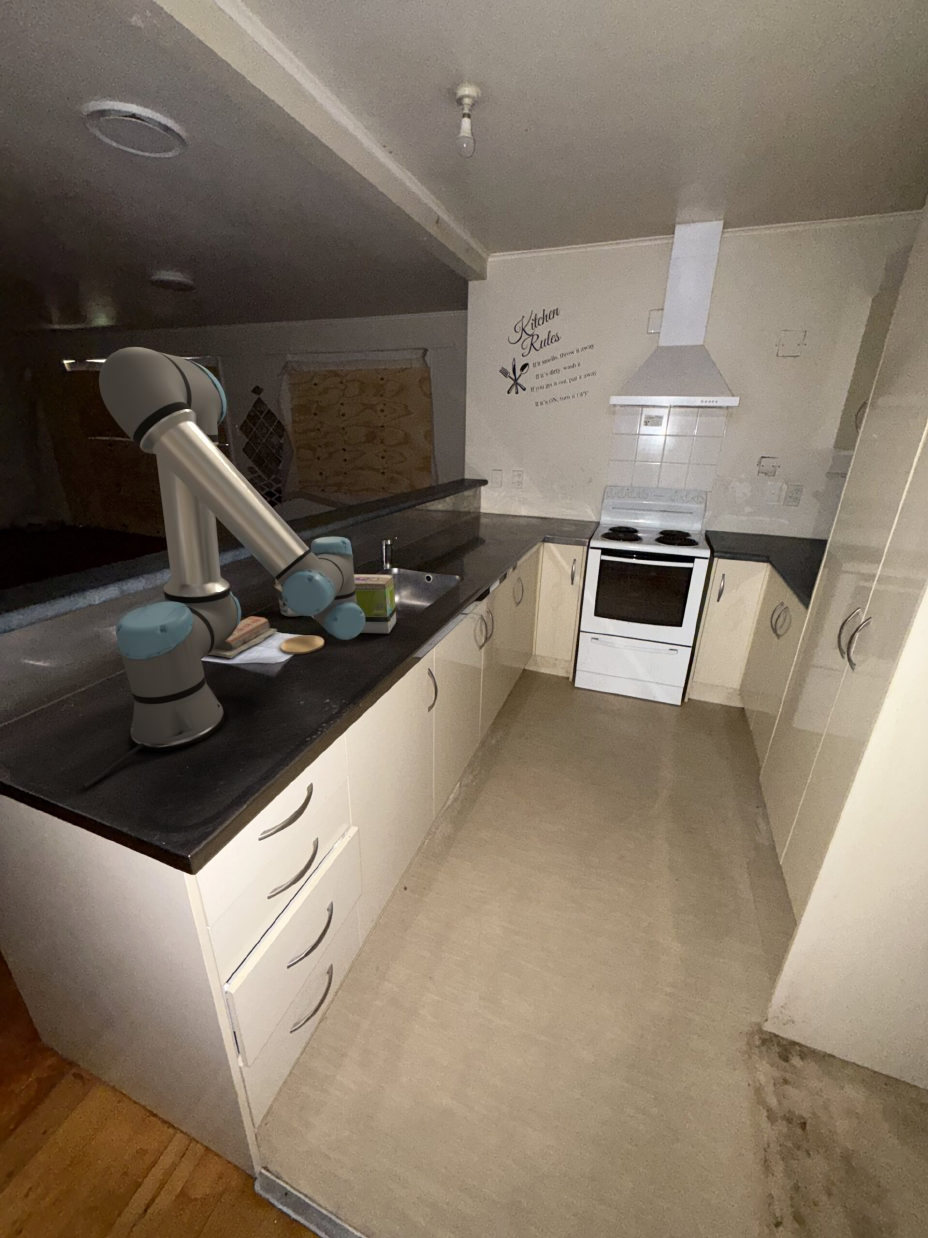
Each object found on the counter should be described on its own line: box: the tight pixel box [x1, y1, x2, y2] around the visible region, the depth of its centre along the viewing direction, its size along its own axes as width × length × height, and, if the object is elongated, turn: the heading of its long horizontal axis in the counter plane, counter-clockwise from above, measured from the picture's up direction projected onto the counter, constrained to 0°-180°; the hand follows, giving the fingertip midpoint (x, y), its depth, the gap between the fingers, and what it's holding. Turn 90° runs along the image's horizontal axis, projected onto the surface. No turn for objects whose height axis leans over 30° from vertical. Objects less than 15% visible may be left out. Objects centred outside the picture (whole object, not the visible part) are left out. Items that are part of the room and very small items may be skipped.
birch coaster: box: [280, 634, 325, 655], centre depth 128 cm, size 11×11×1 cm
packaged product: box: [208, 615, 278, 659], centre depth 128 cm, size 18×5×10 cm
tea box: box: [354, 573, 397, 634], centre depth 137 cm, size 15×10×15 cm, turn 84°
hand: (291, 578), depth 123 cm, fingers closed on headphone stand, 5 cm apart
